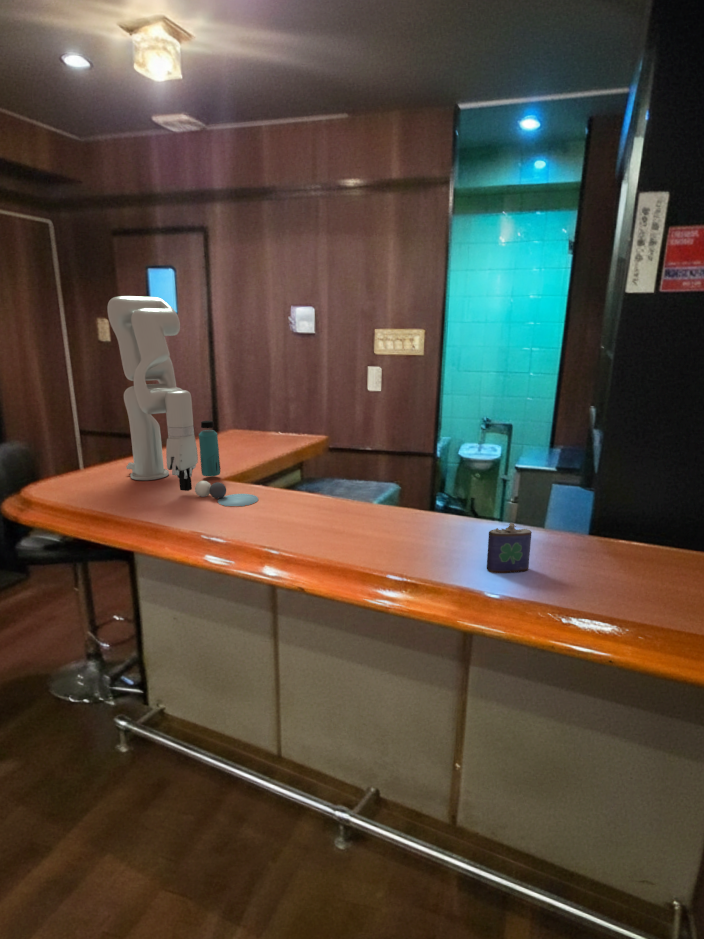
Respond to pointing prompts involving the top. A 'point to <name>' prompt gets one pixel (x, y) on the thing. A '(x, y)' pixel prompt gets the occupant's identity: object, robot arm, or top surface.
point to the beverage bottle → (209, 450)
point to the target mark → (238, 500)
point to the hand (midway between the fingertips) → (186, 489)
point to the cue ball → (202, 488)
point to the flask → (508, 550)
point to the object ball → (217, 490)
